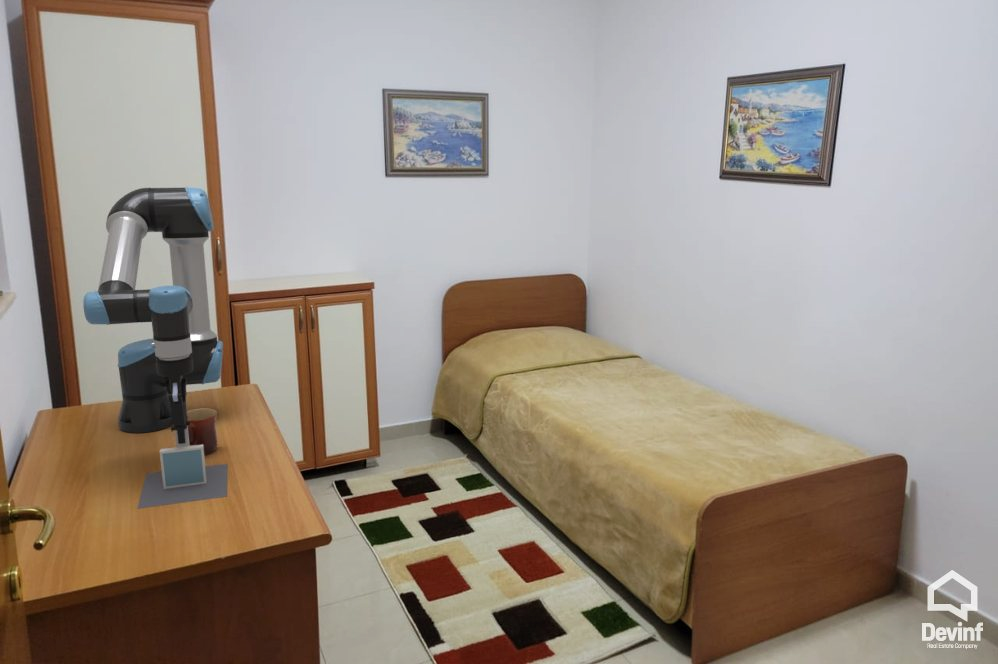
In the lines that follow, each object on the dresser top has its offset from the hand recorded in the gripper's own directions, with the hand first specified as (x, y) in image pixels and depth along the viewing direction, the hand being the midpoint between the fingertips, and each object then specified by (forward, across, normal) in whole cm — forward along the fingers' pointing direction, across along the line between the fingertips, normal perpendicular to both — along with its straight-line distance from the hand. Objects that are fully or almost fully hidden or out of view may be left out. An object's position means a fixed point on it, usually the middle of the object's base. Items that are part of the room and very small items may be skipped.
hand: (183, 454), depth 167 cm
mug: (+7, -15, +2) cm, 17 cm away
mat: (+7, +3, 0) cm, 7 cm away
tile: (+6, +3, 0) cm, 7 cm away
